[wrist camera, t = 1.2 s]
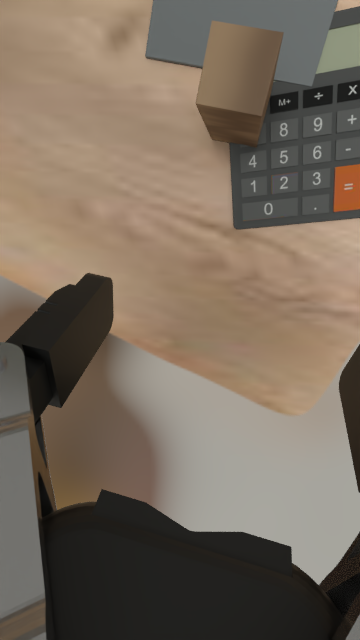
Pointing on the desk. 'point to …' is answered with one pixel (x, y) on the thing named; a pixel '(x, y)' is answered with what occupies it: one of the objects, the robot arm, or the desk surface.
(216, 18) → the mat
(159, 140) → the desk surface
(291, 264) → the desk surface
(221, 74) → the block
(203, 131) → the desk surface
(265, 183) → the calculator
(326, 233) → the desk surface
